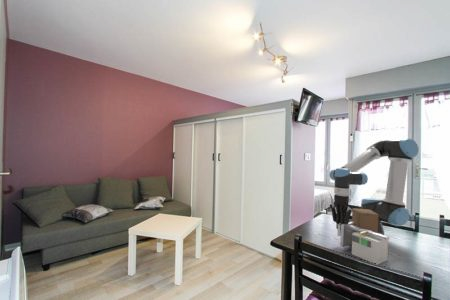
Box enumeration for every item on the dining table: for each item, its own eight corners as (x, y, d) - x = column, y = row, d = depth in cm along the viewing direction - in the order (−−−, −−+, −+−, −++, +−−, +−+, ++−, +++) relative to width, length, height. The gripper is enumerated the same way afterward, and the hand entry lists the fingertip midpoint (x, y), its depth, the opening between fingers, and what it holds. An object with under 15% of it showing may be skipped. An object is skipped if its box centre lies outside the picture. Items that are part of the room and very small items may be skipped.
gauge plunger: (352, 242, 121) (353, 221, 121) (392, 257, 104) (393, 233, 104) (339, 246, 115) (340, 224, 115) (380, 263, 98) (381, 237, 98)
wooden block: (377, 250, 116) (378, 214, 116) (357, 247, 118) (359, 212, 118) (369, 242, 126) (370, 209, 126) (350, 240, 128) (352, 208, 128)
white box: (361, 250, 116) (362, 230, 116) (387, 260, 105) (387, 238, 105) (351, 253, 110) (351, 233, 110) (376, 265, 100) (377, 242, 100)
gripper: (327, 193, 125) (325, 232, 125) (349, 197, 114) (347, 240, 114) (334, 192, 129) (333, 230, 129) (356, 196, 118) (355, 238, 118)
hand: (339, 235), depth 121 cm, fingers closed
